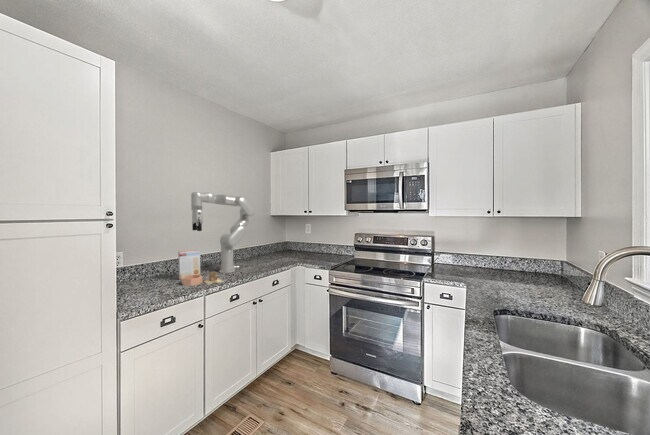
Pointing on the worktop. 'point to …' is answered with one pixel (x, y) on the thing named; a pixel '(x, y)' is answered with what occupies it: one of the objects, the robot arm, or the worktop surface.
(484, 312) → the worktop surface
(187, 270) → the cracker box
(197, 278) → the bowl
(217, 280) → the lid
